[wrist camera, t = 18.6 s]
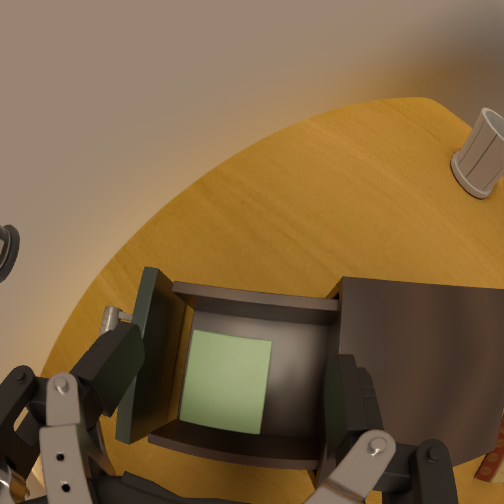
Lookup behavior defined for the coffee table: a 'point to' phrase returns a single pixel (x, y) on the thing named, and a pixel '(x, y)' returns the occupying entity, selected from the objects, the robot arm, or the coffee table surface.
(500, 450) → the carton
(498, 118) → the cup
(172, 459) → the coffee table surface
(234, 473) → the coffee table surface
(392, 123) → the coffee table surface
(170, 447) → the drawer
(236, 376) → the block
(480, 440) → the cabinet
